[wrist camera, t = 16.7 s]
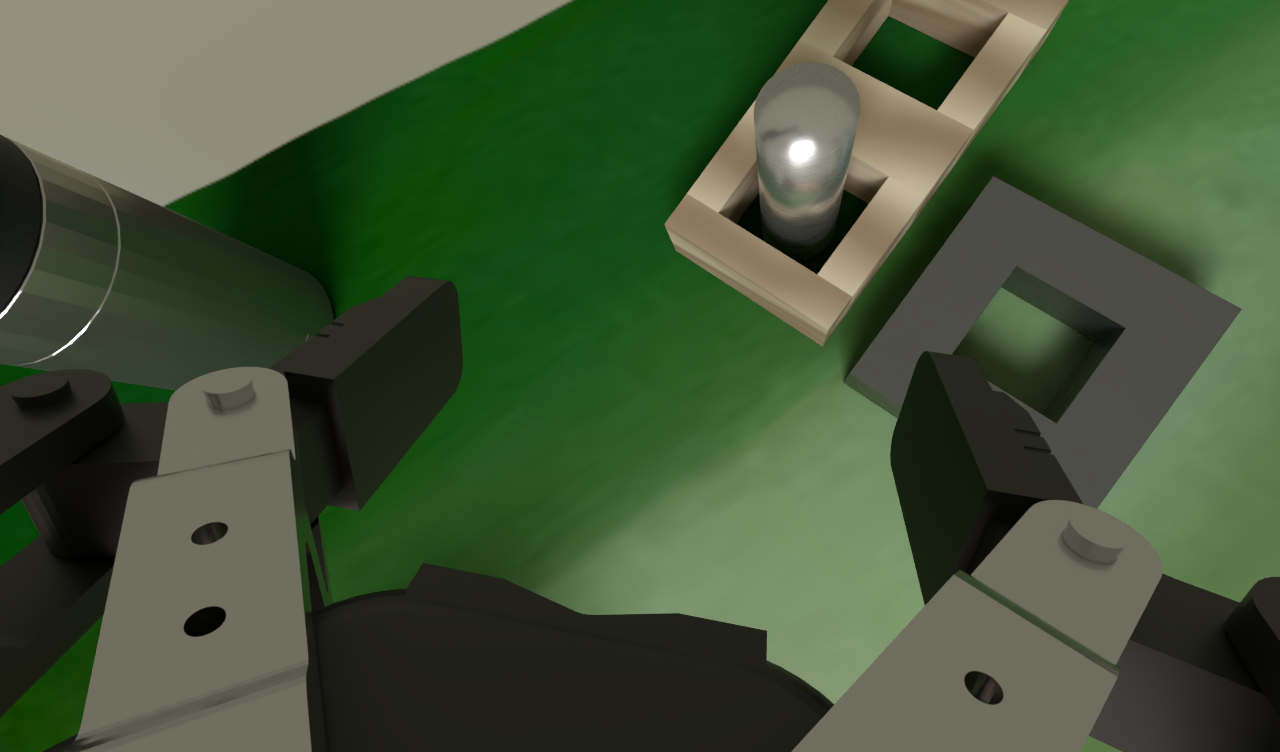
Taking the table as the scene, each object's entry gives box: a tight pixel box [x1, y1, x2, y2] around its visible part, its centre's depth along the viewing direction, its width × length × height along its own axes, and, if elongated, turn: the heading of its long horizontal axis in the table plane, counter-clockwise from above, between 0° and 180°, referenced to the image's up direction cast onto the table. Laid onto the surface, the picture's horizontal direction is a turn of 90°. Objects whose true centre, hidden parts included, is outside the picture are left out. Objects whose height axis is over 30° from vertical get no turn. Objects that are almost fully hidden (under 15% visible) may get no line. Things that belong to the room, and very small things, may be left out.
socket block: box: [844, 176, 1241, 509], centre depth 32 cm, size 12×12×3 cm
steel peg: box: [754, 62, 861, 261], centre depth 31 cm, size 4×4×12 cm
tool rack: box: [664, 0, 1069, 346], centre depth 35 cm, size 20×10×4 cm, turn 144°
